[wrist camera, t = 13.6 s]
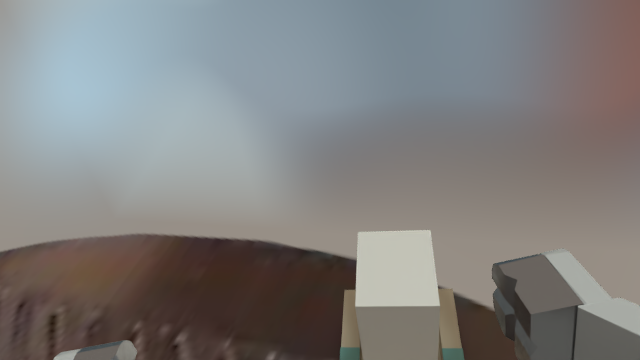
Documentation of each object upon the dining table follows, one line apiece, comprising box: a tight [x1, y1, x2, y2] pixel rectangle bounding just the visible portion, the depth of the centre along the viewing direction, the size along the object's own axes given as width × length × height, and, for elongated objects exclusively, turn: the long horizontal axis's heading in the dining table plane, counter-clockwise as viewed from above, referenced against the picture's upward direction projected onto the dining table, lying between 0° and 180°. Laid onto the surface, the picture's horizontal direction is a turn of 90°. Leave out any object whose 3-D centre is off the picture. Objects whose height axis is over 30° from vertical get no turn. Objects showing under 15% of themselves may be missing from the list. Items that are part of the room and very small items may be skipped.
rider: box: [355, 230, 440, 360], centre depth 27 cm, size 4×5×10 cm
